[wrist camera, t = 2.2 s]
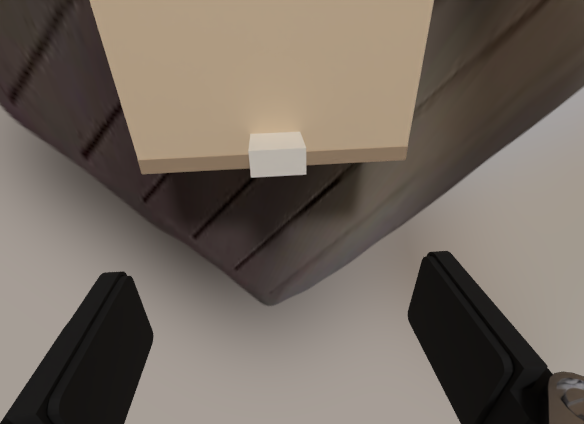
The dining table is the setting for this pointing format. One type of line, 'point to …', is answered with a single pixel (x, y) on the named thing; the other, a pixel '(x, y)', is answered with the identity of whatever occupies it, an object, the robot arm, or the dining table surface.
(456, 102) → the dining table surface
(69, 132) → the dining table surface
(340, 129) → the lid flap
